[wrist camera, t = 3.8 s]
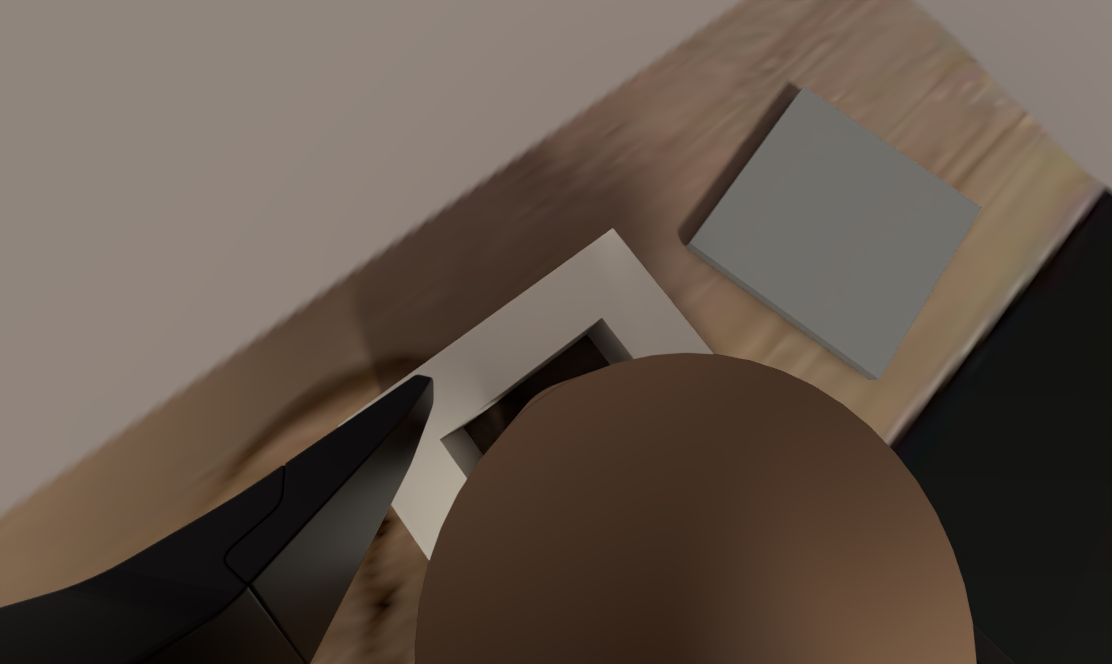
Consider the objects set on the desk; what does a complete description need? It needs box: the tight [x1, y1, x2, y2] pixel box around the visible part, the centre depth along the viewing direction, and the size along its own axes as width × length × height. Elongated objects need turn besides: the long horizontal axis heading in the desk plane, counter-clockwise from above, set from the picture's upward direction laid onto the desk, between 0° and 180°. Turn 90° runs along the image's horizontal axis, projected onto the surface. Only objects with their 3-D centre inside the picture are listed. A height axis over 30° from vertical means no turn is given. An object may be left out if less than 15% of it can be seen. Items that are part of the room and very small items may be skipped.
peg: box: [415, 353, 977, 664], centre depth 10 cm, size 5×5×13 cm
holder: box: [338, 228, 713, 560], centre depth 14 cm, size 11×11×4 cm
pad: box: [686, 86, 982, 380], centre depth 18 cm, size 10×10×1 cm
